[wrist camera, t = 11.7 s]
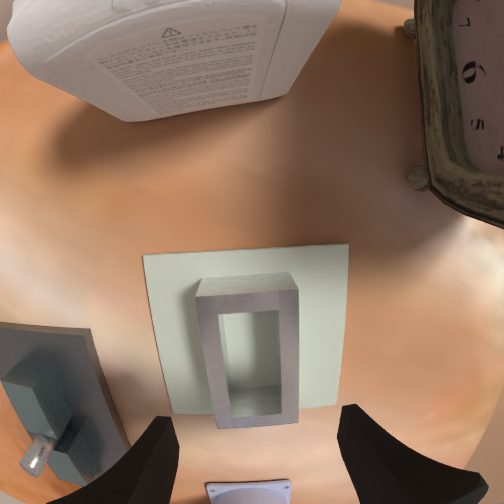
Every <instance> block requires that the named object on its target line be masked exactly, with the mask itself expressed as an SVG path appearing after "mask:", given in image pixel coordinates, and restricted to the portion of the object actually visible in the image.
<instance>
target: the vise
mask: <svg viewBox="0 0 504 504" xmlns="http://www.w3.org/2000/svg"><path fill="white" fill-rule="evenodd" d="M0 381H1V383H2V385H3V387H4V389H5V391H6V393H7V395H8V398H9V400H10V401H11V403H12V405H13V407H14V409H15V411H16V413H17V415H18V417H19V418H20V420H21V422H22V424H23V426H24V427H25V429H26V430H27V432H28V434H29V435H30V437H31V439H32V440H33V442H32V444H31V445H30V447H29V448H28V450H27V451H26V453H25V454H24V456H23V458H22V459H21V461H20V462H19V464H20V466H21V467H22V468H23V469H24V470H25V471H26V472H27V473H28V474H30V475H32V476H34V477H37V478H38V477H39V476H40V474H41V472H42V470H43V469H44V467H45V465H46V463H48V465H49V466H50V468H51V469H52V470H53V472H54V473H55V475H56V476H57V477H58V479H61V480H64V481H67V482H70V483H74V484H77V485H81V486H82V487H84V486H86V485H88V484H89V483H91V482H92V481H93V479H97V478H98V477H99V476H101V475H102V474H103V473H105V472H106V471H107V470H108V469H110V468H111V467H112V466H113V465H114V464H115V463H116V462H117V461H118V460H119V459H120V458H121V457H122V456H123V455H124V454H125V453H126V452H127V451H128V450H129V449H130V448H131V445H130V443H129V440H128V438H127V436H126V434H125V431H124V429H123V426H122V424H121V422H120V419H119V417H118V414H117V411H116V409H115V406H114V404H113V401H112V398H111V395H110V393H109V390H108V387H107V384H106V381H105V378H104V375H103V372H102V369H101V366H100V363H99V359H98V356H97V353H96V349H95V346H94V342H93V338H92V335H91V331H90V329H82V328H64V327H49V326H36V325H25V324H15V323H5V322H0Z"/></svg>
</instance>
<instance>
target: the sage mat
mask: <svg viewBox="0 0 504 504" xmlns="http://www.w3.org/2000/svg"><path fill="white" fill-rule="evenodd" d="M348 260H349V244H347V243H343V244H323V245H304V246H285V247H266V248H247V249H228V250H210V251H192V252H174V253H156V254H144V255H143V261H144V269H145V276H146V283H147V290H148V296H149V303H150V309H151V314H152V320H153V326H154V331H155V336H156V341H157V346H158V351H159V356H160V361H161V365H162V370H163V374H164V378H165V383H166V387H167V391H168V395H169V399H170V403H171V407H172V410H173V414H189V415H215V414H214V409H213V404H212V398H211V393H210V388H209V382H208V377H207V371H206V365H205V359H204V353H203V347H202V341H201V334H200V328H199V321H198V314H197V307H196V300H195V296H196V293H197V290H198V288H199V285H200V282H201V280H202V278H210V277H225V276H238V275H252V274H265V273H277V272H290V274H291V276H292V278H293V279H294V281H295V283H296V285H297V287H298V288H299V409H306V408H314V407H321V406H328V405H335V404H336V401H337V394H338V386H339V378H340V370H341V361H342V351H343V341H344V330H345V317H346V303H347V285H348ZM223 315H224V324H225V333H226V341H227V349H228V357H229V365H230V373H231V381H232V388H246V387H259V386H271V385H277V376H276V350H275V327H274V310H272V311H260V312H247V313H233V314H223Z"/></svg>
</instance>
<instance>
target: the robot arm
mask: <svg viewBox="0 0 504 504" xmlns="http://www.w3.org/2000/svg"><path fill="white" fill-rule="evenodd" d="M337 439H338V444H339V448H340V452H341V455H342V458H343V461H344V463H345V466H346V468H347V471H348V473H349V475H350V478H351V480H352V483H353V485H354V488H355V490H356V493H357V495H358V498H359V502H360V504H478V503H479V501H480V500H481V499H482V498H483V497H484V495H485V494H486V493H487V491H488V488H489V487H488V485H487V483H486V482H485V480H484V479H483V477H482V476H481V475H480V474H479V473H477V472H472V471H467V470H462V469H458V468H454V467H451V466H448V465H445V464H442V463H439V462H437V461H435V460H432V459H430V458H428V457H426V456H424V455H422V454H420V453H418V452H416V451H414V450H413V449H411V448H409V447H407V446H406V445H404V444H403V443H402V442H400V441H399V440H397V439H396V438H395V437H393V436H392V435H391V434H389V433H388V432H387V431H386V430H385V429H383V428H382V427H381V426H380V425H379V424H377V423H376V422H375V421H374V420H373V419H372V418H371V417H370V416H369V415H368V414H366V413H365V412H364V411H363V410H362V409H361V408H360V407H359V406H358V405H357V404H351V405H346V406H342V411H341V417H340V423H339V428H338V434H337ZM179 448H180V447H179V443H178V440H177V437H176V434H175V430H174V427H173V423H172V420H171V417H165V416H156V417H155V418H154V420H153V421H152V422H151V424H150V425H149V426H148V428H147V429H146V430H145V432H144V433H143V434H142V435H141V436H140V438H139V439H138V440H137V441H136V442H135V444H134V445H133V446H132V447H131V448H130V449H129V450H128V451H127V452H126V453H125V454H124V455H123V456H122V457H121V458H120V459H119V460H118V461H117V462H116V463H115V464H114V465H113V466H112V467H111V468H110V469H108V470H107V471H106V472H105V473H103V474H102V475H101V476H99V477H98V478H97V479H95V480H94V481H92V482H91V483H89V484H88V485H86V486H84V487H82V488H81V489H79V490H77V491H75V492H73V493H71V494H69V495H67V496H64V497H62V498H59V499H56V500H54V501H51V502H48V503H46V504H169V503H170V498H171V494H172V490H173V485H174V481H175V477H176V472H177V468H178V460H179ZM291 486H292V483H291V481H290V480H279V481H268V482H252V483H209V484H207V486H206V489H207V492H208V495H209V498H210V501H211V504H290V497H291ZM500 504H503V503H500Z"/></svg>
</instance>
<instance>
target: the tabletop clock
mask: <svg viewBox="0 0 504 504" xmlns="http://www.w3.org/2000/svg"><path fill="white" fill-rule="evenodd" d="M403 29H404V32H405V33H406V35H407V36H409V37H410V38H412V39H416V44H417V59H418V81H419V90H420V102H421V116H422V136H423V153H424V163H425V167H423V166H420V165H418V166H415V167H413V168H412V169H411V170H410V172H409V174H408V182H409V183H410V185H411V187H412V188H413V189H414V190H417V191H426V190H428V189H429V190H430V191H431V192H432V193H433V194H434V195H435V196H436V197H438V198H439V199H440V200H441V201H442V202H443V203H444V204H446V205H447V206H449V207H451V208H453V209H454V210H456V211H458V212H460V213H462V214H464V215H466V216H469V217H471V218H474V219H477V220H480V221H483V222H485V223H488V224H491V225H494V226H496V227H499V228H501V229H504V0H415V1H414V19H408V20H406V21H405V22H404V26H403Z"/></svg>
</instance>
